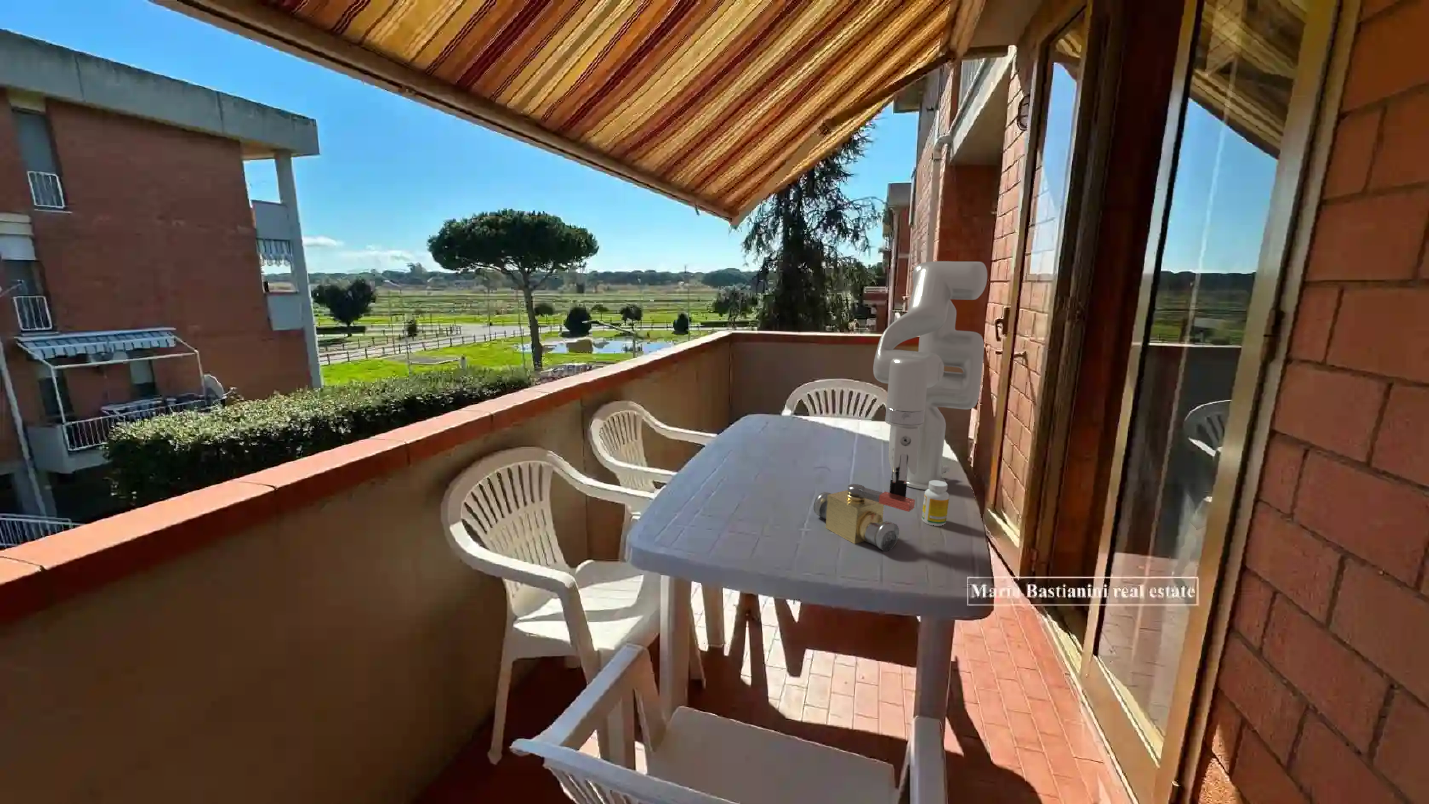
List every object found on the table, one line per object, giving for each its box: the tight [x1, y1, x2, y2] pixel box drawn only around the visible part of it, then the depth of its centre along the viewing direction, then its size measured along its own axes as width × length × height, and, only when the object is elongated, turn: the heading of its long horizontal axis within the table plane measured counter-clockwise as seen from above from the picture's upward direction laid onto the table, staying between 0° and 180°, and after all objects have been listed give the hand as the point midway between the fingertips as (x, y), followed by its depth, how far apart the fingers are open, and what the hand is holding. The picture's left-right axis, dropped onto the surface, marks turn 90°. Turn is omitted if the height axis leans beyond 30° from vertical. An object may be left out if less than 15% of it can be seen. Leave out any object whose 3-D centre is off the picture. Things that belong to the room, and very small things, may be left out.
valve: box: [813, 489, 900, 552], centre depth 125 cm, size 20×8×9 cm, turn 31°
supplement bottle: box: [921, 480, 950, 527], centre depth 131 cm, size 5×5×10 cm
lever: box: [847, 483, 916, 512], centre depth 120 cm, size 14×4×2 cm, turn 48°
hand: (897, 498), depth 121 cm, fingers closed
